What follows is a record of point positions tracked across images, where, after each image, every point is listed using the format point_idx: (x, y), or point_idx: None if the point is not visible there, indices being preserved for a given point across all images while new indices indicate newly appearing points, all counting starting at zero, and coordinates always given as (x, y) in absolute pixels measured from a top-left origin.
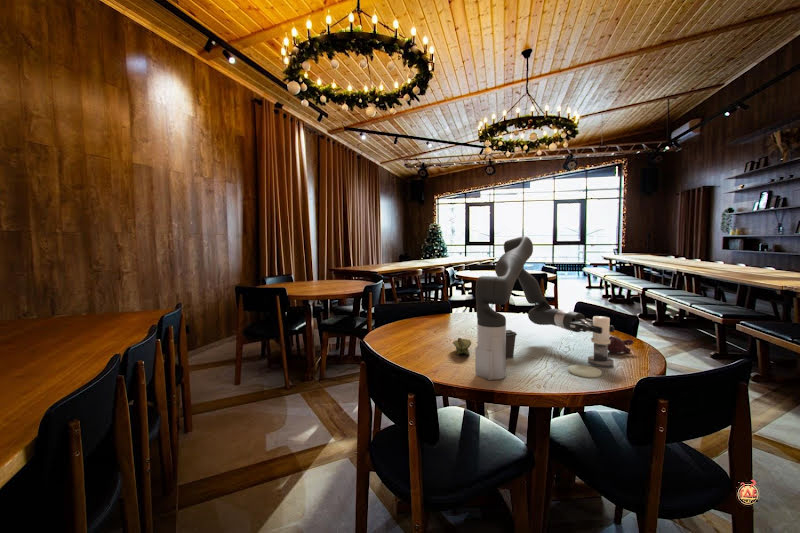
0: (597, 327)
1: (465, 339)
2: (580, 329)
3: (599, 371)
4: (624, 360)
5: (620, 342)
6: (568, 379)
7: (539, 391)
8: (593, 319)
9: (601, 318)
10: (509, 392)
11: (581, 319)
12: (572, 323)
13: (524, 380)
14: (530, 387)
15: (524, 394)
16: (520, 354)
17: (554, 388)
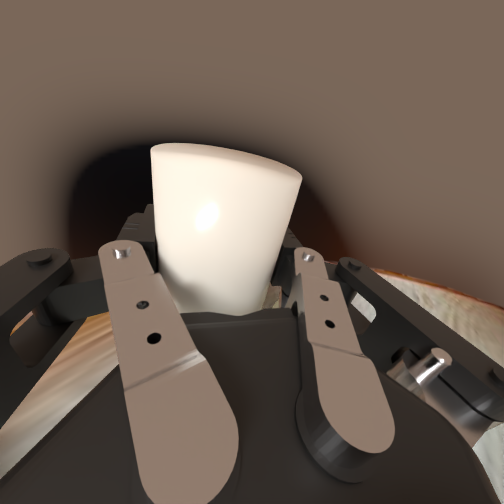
0: None
1: None
2: (361, 325)
3: (277, 307)
4: (20, 408)
5: None
6: (366, 308)
7: (421, 286)
8: (295, 199)
9: (257, 159)
10: (470, 296)
11: (368, 420)
12: (481, 359)
13: (466, 329)
14: (441, 300)
15: (442, 285)
16: None
17: (396, 287)
